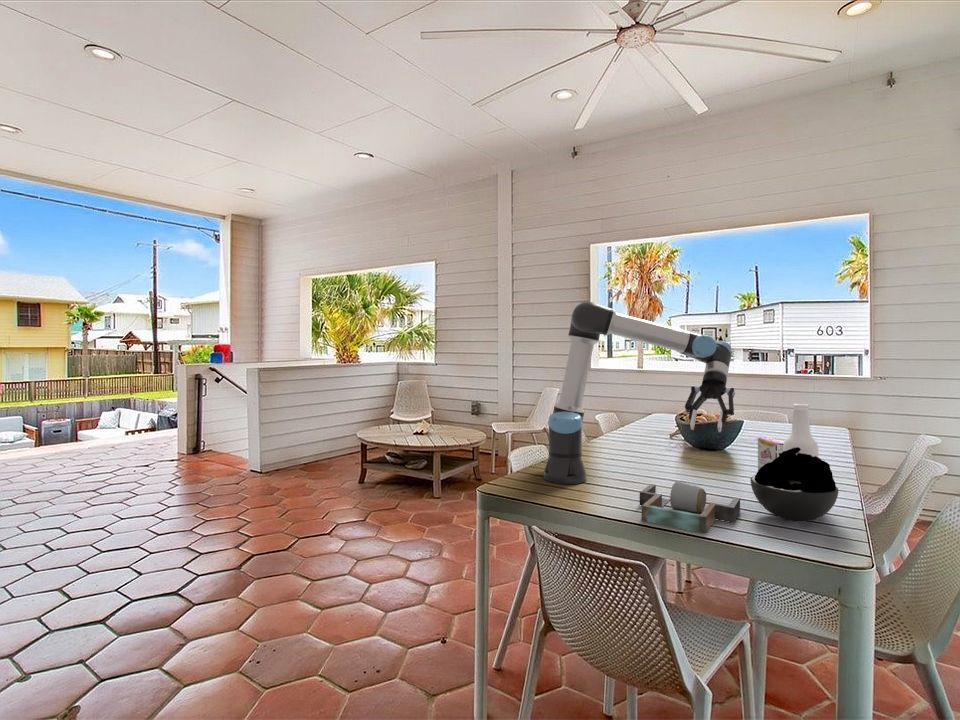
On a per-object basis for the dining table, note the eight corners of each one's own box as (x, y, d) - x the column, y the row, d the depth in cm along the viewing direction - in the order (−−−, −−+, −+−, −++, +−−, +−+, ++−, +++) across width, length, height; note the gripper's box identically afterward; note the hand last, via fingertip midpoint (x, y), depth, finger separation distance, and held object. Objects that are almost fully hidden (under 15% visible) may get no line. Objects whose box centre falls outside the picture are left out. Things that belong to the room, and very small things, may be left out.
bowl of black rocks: (808, 538, 119) (808, 461, 118) (734, 514, 137) (734, 447, 136) (854, 526, 127) (855, 454, 127) (779, 504, 145) (780, 441, 145)
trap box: (625, 517, 134) (625, 502, 134) (650, 496, 153) (650, 484, 153) (725, 537, 119) (725, 521, 119) (740, 511, 138) (740, 497, 138)
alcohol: (775, 500, 149) (776, 402, 149) (802, 499, 150) (803, 402, 150) (797, 509, 140) (798, 406, 140) (825, 508, 141) (826, 405, 141)
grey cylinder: (699, 516, 134) (699, 488, 134) (669, 510, 140) (669, 483, 140) (710, 508, 143) (710, 481, 143) (681, 502, 148) (681, 477, 148)
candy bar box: (756, 485, 167) (756, 437, 167) (771, 485, 167) (771, 437, 167) (775, 494, 156) (776, 443, 155) (791, 494, 156) (792, 443, 155)
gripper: (749, 385, 168) (741, 438, 155) (686, 383, 180) (674, 432, 167) (746, 370, 164) (739, 424, 151) (682, 369, 176) (670, 418, 163)
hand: (705, 428), depth 159 cm, fingers open, 8 cm apart
